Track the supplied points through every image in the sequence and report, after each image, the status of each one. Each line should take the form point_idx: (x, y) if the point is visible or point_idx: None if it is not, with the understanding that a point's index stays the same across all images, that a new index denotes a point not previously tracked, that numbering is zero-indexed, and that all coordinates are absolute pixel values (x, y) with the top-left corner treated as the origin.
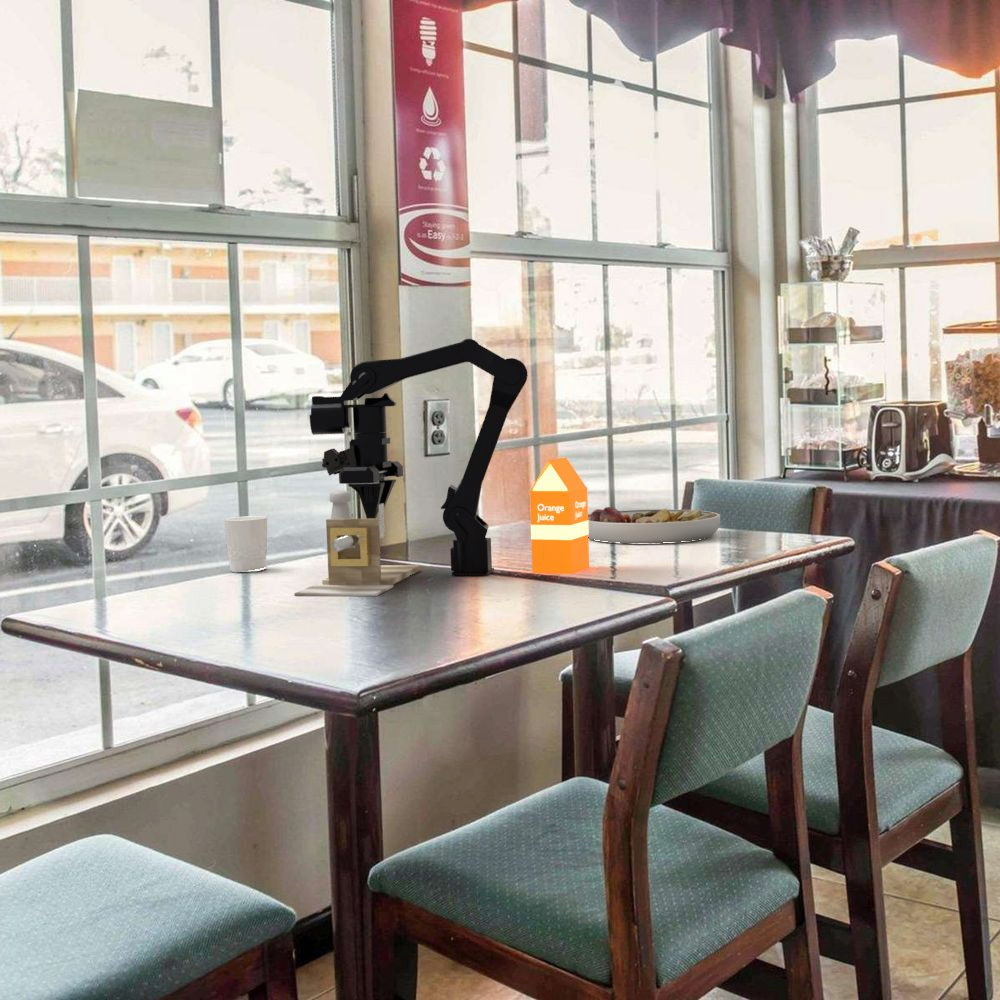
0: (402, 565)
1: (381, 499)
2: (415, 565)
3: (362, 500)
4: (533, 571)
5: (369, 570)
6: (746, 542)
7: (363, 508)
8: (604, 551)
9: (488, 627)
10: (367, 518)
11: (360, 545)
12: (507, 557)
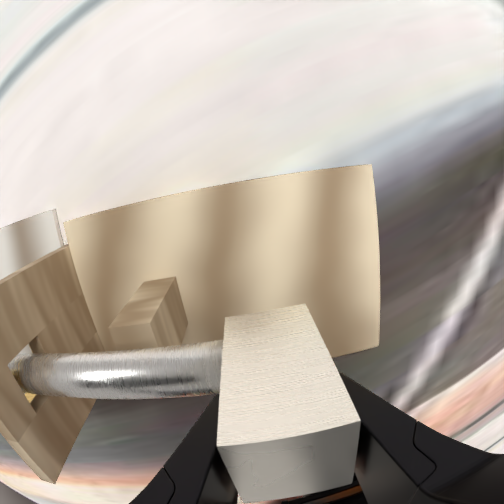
0: (378, 305)
1: (369, 490)
2: (376, 337)
3: (150, 491)
4: None
5: None
6: None
7: (218, 430)
8: (499, 437)
9: (15, 478)
10: (211, 406)
11: (25, 394)
12: (500, 378)
